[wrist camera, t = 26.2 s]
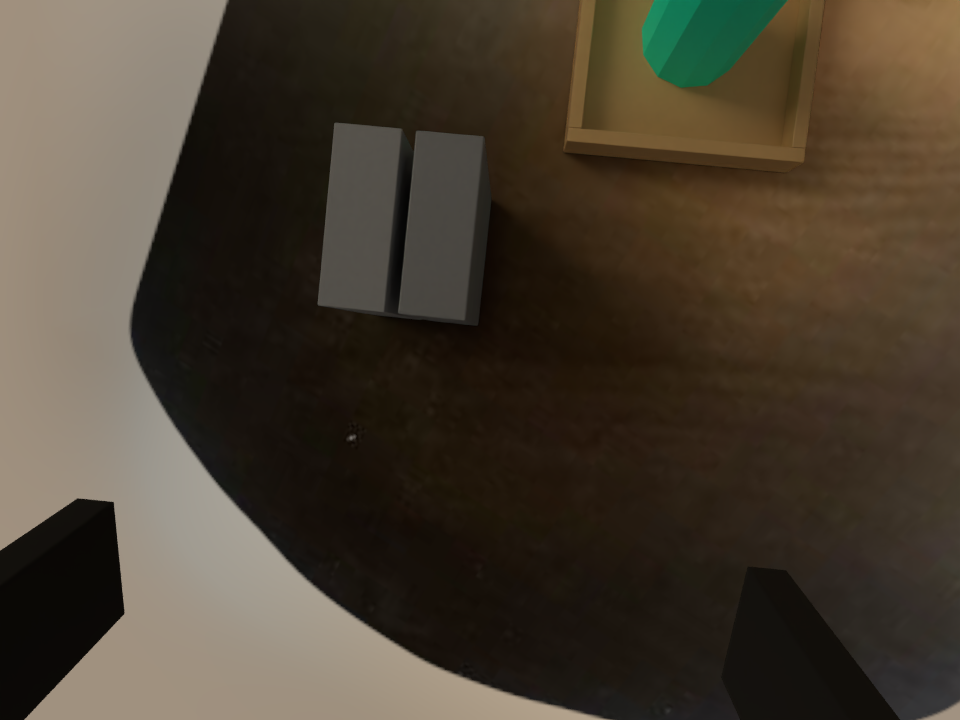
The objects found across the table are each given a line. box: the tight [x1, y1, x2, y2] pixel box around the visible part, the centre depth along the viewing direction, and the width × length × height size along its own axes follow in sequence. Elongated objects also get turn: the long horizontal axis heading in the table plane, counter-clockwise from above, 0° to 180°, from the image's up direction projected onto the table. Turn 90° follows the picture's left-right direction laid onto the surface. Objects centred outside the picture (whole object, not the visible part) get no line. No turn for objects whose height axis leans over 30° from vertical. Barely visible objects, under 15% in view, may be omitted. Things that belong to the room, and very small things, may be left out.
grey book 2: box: [398, 131, 491, 326], centre depth 30 cm, size 8×3×11 cm, turn 174°
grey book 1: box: [318, 123, 421, 320], centre depth 30 cm, size 8×3×11 cm, turn 174°
